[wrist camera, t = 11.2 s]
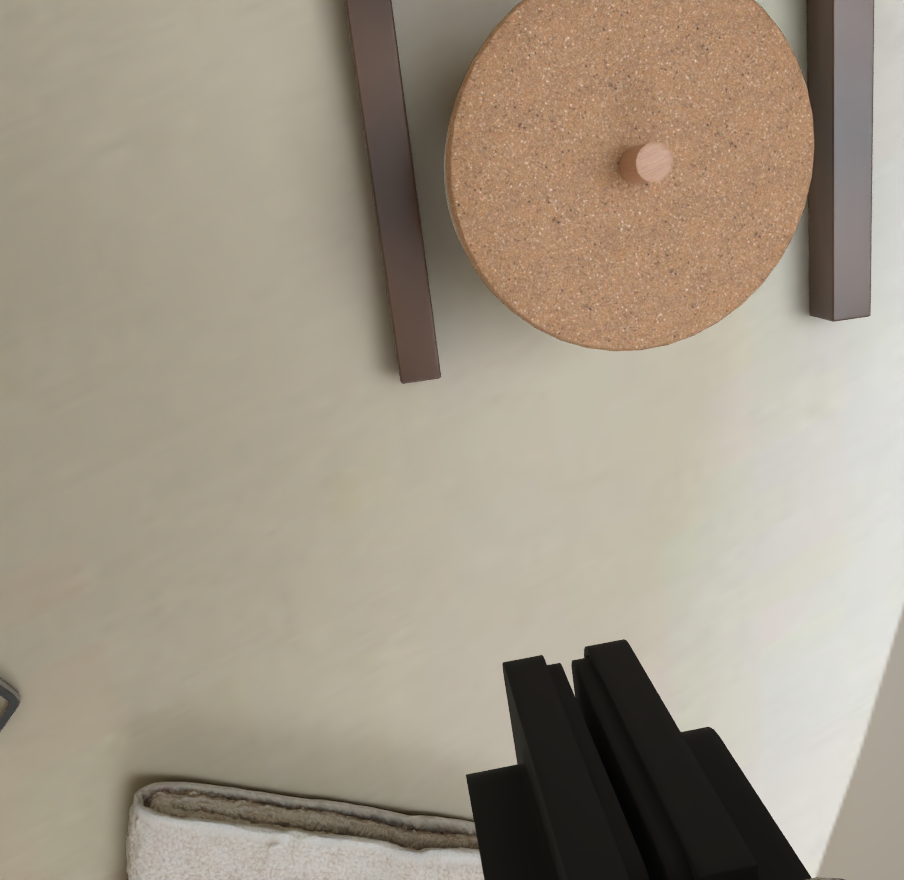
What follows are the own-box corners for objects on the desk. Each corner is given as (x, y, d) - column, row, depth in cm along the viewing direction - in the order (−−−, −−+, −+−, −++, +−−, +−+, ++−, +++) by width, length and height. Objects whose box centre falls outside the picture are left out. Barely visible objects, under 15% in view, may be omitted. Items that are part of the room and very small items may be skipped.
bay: (334, -66, 29) (332, -84, 27) (846, -123, 30) (876, -143, 28) (399, 374, 33) (401, 384, 31) (845, 310, 34) (870, 316, 32)
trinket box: (378, 91, 30) (384, 44, 21) (656, -37, 30) (782, -141, 21) (496, 363, 33) (544, 423, 24) (748, 248, 33) (892, 265, 24)
